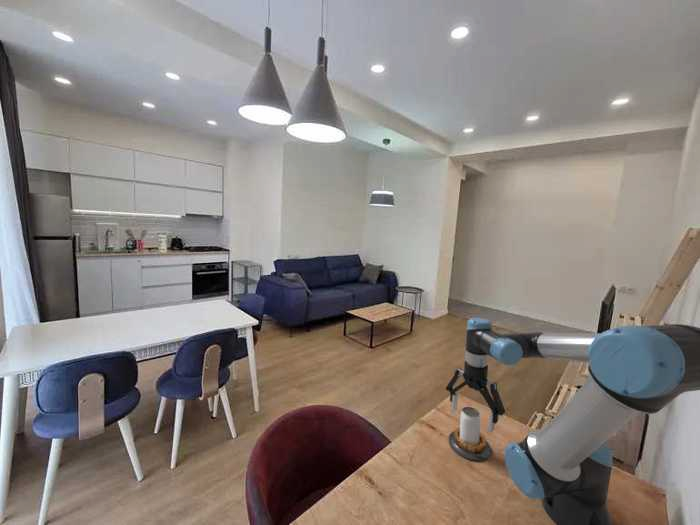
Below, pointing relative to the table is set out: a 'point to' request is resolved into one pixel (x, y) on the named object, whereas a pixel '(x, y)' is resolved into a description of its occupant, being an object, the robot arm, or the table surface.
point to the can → (470, 426)
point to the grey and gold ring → (469, 447)
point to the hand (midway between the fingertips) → (471, 420)
